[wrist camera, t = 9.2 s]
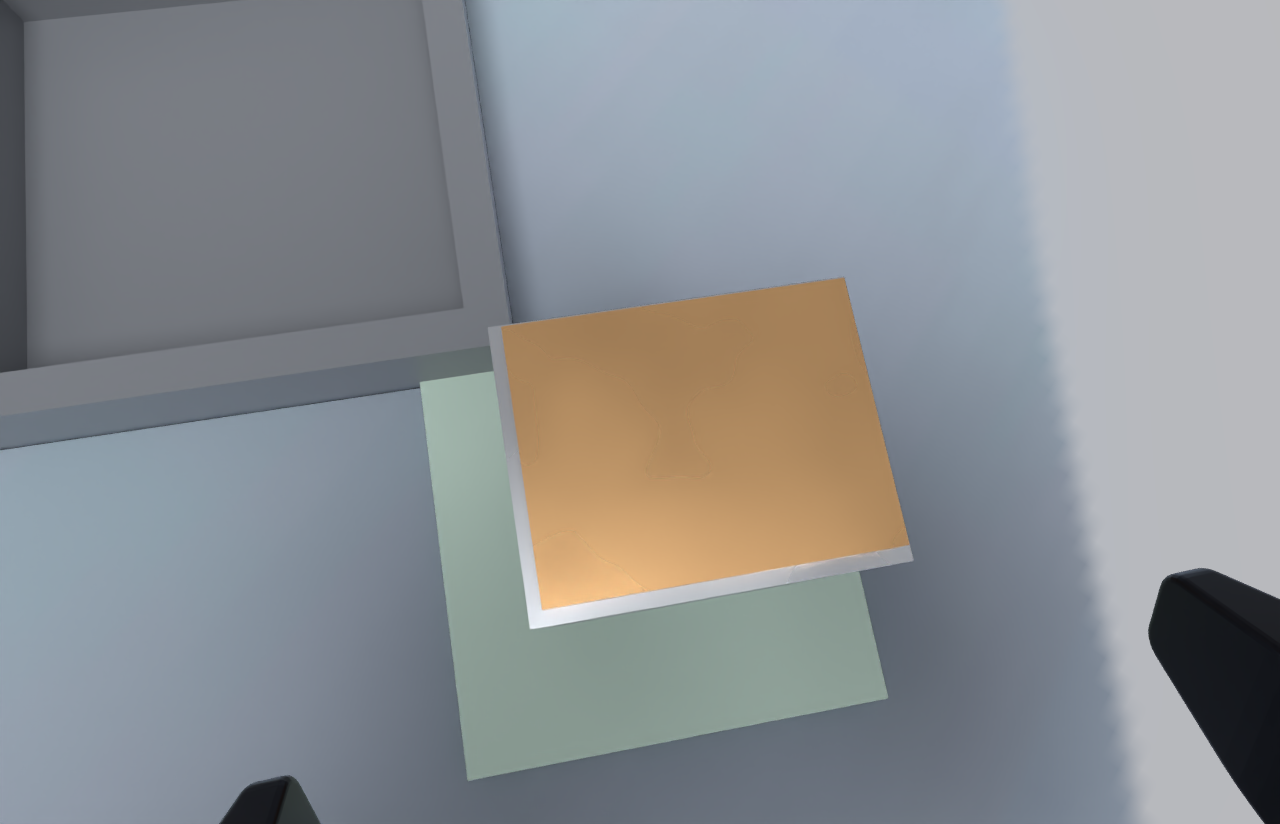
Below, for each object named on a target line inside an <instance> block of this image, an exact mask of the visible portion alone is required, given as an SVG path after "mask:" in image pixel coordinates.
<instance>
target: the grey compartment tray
mask: <svg viewBox="0 0 1280 824" xmlns="http://www.w3.org/2000/svg"><path fill="white" fill-rule="evenodd" d="M507 324H513V321H512V314H511V308H510V301H509V294H508V287H507V281H506V274H505V267H504V260H503V254H502V247H501V240H500V233H499V227H498V220H497V213H496V206H495V200H494V193H493V186H492V179H491V173H490V166H489V159H488V152H487V146H486V139H485V132H484V125H483V119H482V112H481V105H480V98H479V92H478V85H477V78H476V71H475V65H474V58H473V51H472V44H471V38H470V31H469V24H468V17H467V11H466V4H465V0H0V450H4V449H11V448H17V447H24V446H31V445H38V444H44V443H51V442H58V441H65V440H71V439H78V438H85V437H92V436H98V435H105V434H112V433H119V432H125V431H132V430H139V429H146V428H152V427H159V426H166V425H173V424H179V423H186V422H193V421H200V420H206V419H213V418H220V417H227V416H233V415H240V414H247V413H254V412H260V411H267V410H274V409H281V408H287V407H294V406H301V405H308V404H314V403H321V402H328V401H335V400H341V399H348V398H355V397H362V396H368V395H375V394H382V393H389V392H395V391H402V390H409V389H416V388H420V382H423V381H430V380H437V379H444V378H450V377H457V376H464V375H471V374H477V373H484V372H491V371H494V369H493V362H492V355H491V348H490V341H489V334H488V327H493V326H500V325H507Z"/></svg>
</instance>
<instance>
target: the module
mask: <svg viewBox="0 0 1280 824" xmlns="http://www.w3.org/2000/svg"><path fill="white" fill-rule="evenodd" d="M488 334H489V341H490V348H491V355H492V362H493V369H494V377H495V384H496V391H497V398H498V405H499V412H500V419H501V426H502V433H503V440H504V447H505V455H506V462H507V469H508V476H509V483H510V490H511V497H512V504H513V511H514V518H515V526H516V533H517V540H518V547H519V554H520V561H521V568H522V575H523V582H524V589H525V597H526V604H527V611H528V618H529V625H530V630H533V629H541V628H550V627H557V626H563V625H569V624H574V623H580V622H585V621H591V620H596V619H602V618H608V617H613V616H619V615H624V614H630V613H635V612H641V611H647V610H652V609H658V608H663V607H669V606H674V605H680V604H686V603H691V602H697V601H702V600H708V599H713V598H719V597H725V596H730V595H736V594H741V593H747V592H752V591H758V590H763V589H769V588H774V587H779V586H784V585H790V584H795V583H800V582H806V581H811V580H816V579H821V578H827V577H832V576H837V575H843V574H848V573H853V572H858V571H864V570H869V569H874V568H879V567H885V566H890V565H895V564H901V563H906V562H911V561H914V560H913V555H912V551H911V547H910V543H909V539H908V535H907V531H906V527H905V523H904V519H903V515H902V511H901V507H900V502H899V498H898V494H897V490H896V486H895V482H894V478H893V474H892V470H891V466H890V462H889V458H888V454H887V449H886V445H885V441H884V437H883V433H882V429H881V425H880V421H879V417H878V413H877V409H876V405H875V401H874V397H873V392H872V388H871V384H870V380H869V376H868V372H867V368H866V364H865V360H864V356H863V352H862V348H861V344H860V339H859V335H858V331H857V327H856V323H855V319H854V315H853V311H852V307H851V303H850V299H849V295H848V291H847V286H846V282H845V278H844V277H838V278H831V279H824V280H817V281H810V282H803V283H796V284H789V285H782V286H775V287H768V288H761V289H754V290H747V291H740V292H733V293H726V294H719V295H711V296H704V297H697V298H690V299H683V300H676V301H669V302H662V303H655V304H648V305H641V306H634V307H627V308H620V309H613V310H606V311H599V312H592V313H585V314H578V315H571V316H564V317H557V318H550V319H543V320H536V321H529V322H522V323H514V324H507V325H500V326H493V327H488Z"/></svg>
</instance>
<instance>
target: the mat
mask: <svg viewBox="0 0 1280 824" xmlns="http://www.w3.org/2000/svg"><path fill="white" fill-rule="evenodd" d="M420 389H421V397H422V406H423V414H424V422H425V431H426V439H427V448H428V456H429V464H430V473H431V481H432V489H433V498H434V506H435V514H436V523H437V531H438V539H439V548H440V556H441V564H442V573H443V581H444V589H445V598H446V606H447V614H448V623H449V631H450V639H451V648H452V656H453V664H454V673H455V681H456V690H457V698H458V706H459V715H460V723H461V731H462V740H463V748H464V756H465V765H466V773H467V781H470V780H475V779H480V778H485V777H490V776H496V775H501V774H506V773H511V772H516V771H521V770H526V769H531V768H536V767H541V766H547V765H552V764H557V763H562V762H567V761H572V760H577V759H582V758H587V757H592V756H598V755H603V754H608V753H613V752H618V751H623V750H628V749H633V748H638V747H643V746H649V745H654V744H659V743H664V742H669V741H674V740H679V739H684V738H689V737H694V736H700V735H705V734H710V733H715V732H720V731H725V730H730V729H735V728H740V727H745V726H751V725H756V724H761V723H766V722H771V721H776V720H781V719H786V718H791V717H796V716H802V715H807V714H812V713H817V712H822V711H827V710H832V709H837V708H842V707H847V706H853V705H858V704H863V703H868V702H873V701H878V700H883V699H888V694H887V690H886V685H885V681H884V677H883V672H882V668H881V664H880V659H879V655H878V651H877V646H876V642H875V638H874V633H873V629H872V625H871V620H870V616H869V612H868V607H867V603H866V599H865V594H864V590H863V586H862V581H861V577H860V573H859V571H858V572H853V573H848V574H843V575H837V576H832V577H827V578H821V579H816V580H811V581H806V582H800V583H795V584H790V585H784V586H779V587H774V588H769V589H763V590H758V591H752V592H747V593H741V594H736V595H730V596H725V597H719V598H713V599H708V600H702V601H697V602H691V603H686V604H680V605H674V606H669V607H663V608H658V609H652V610H647V611H641V612H635V613H630V614H624V615H619V616H613V617H608V618H602V619H596V620H591V621H585V622H580V623H574V624H569V625H563V626H557V627H550V628H541V629H533V630H530V625H529V618H528V611H527V604H526V597H525V589H524V582H523V575H522V568H521V561H520V554H519V547H518V540H517V533H516V526H515V518H514V511H513V504H512V497H511V490H510V483H509V476H508V469H507V462H506V455H505V447H504V440H503V433H502V426H501V419H500V412H499V405H498V398H497V391H496V384H495V377H494V371H491V372H484V373H477V374H471V375H464V376H457V377H450V378H444V379H437V380H430V381H423V382H420Z"/></svg>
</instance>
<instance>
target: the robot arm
mask: <svg viewBox="0 0 1280 824" xmlns="http://www.w3.org/2000/svg"><path fill="white" fill-rule="evenodd" d="M1148 634H1149V640H1150V644H1151V646H1152V649H1153V651H1154V653H1155V655H1156V657H1157V658H1158V660H1159V662H1160V663H1161V665H1162V667H1163V668H1164V670H1165V671H1166V673H1167V675H1168V676H1169V678H1170V680H1171V681H1172V683H1173V684H1174V686H1175V688H1176V689H1177V691H1178V693H1179V694H1180V696H1181V697H1182V699H1183V701H1184V702H1185V704H1186V705H1187V707H1188V709H1189V710H1190V712H1191V714H1192V715H1193V717H1194V718H1195V720H1196V722H1197V723H1198V725H1199V727H1200V728H1201V730H1202V731H1203V733H1204V735H1205V736H1206V738H1207V740H1208V741H1209V743H1210V745H1211V746H1212V748H1213V749H1214V751H1215V752H1216V754H1217V756H1218V757H1219V759H1220V761H1221V762H1222V764H1223V765H1224V767H1225V768H1226V770H1227V772H1228V773H1229V775H1230V776H1231V778H1232V779H1233V781H1234V782H1235V784H1236V785H1237V787H1238V788H1239V789H1240V791H1241V792H1242V794H1243V795H1244V796H1245V798H1246V799H1247V801H1248V802H1249V803H1250V805H1251V806H1252V807H1253V809H1254V810H1255V811H1256V813H1257V814H1258V815H1259V817H1260V818H1261V820H1262V821H1263V822H1264V823H1265V824H1280V599H1278V598H1276V597H1273V596H1271V595H1269V594H1267V593H1264V592H1262V591H1260V590H1257V589H1255V588H1253V587H1251V586H1248V585H1246V584H1244V583H1242V582H1239V581H1237V580H1235V579H1232V578H1230V577H1228V576H1226V575H1223V574H1221V573H1219V572H1216V571H1214V570H1211V569H1206V568H1198V569H1193V570H1188V571H1183V572H1179V573H1175V574H1171V575H1169V576H1167V577H1166V578H1165V579H1164V580H1163V581H1162V583H1161V586H1160V589H1159V593H1158V597H1157V600H1156V603H1155V607H1154V610H1153V614H1152V618H1151V621H1150V624H1149V629H1148ZM219 824H320V822H319V820H318V818H317V816H316V814H315V812H314V810H313V809H312V807H311V805H310V803H309V801H308V799H307V797H306V795H305V794H304V792H303V790H302V788H301V786H300V784H299V783H298V781H297V780H296V779H295V778H294V777H292V776H290V775H285V776H280V777H276V778H271V779H267V780H263V781H258V782H255V783H252V784H250V785H249V786H247V787H246V788H245V789H244V790H243V791H242V792H241V793H240V795H239V796H238V798H237V799H236V800H235V802H234V803H233V805H232V806H231V808H230V809H229V811H228V812H227V813H226V815H225V816H224V818H223V819H222V821H221V822H220V823H219Z"/></svg>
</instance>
